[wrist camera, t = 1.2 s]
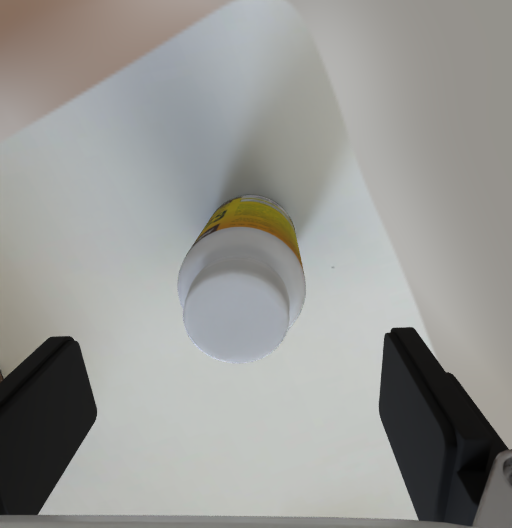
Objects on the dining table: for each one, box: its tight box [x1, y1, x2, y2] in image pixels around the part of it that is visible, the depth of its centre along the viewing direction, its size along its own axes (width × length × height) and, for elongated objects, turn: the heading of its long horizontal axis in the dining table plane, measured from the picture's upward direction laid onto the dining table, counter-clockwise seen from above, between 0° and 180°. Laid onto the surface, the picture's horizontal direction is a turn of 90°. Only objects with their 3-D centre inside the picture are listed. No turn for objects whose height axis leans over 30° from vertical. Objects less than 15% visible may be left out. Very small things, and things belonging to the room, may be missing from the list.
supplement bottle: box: [178, 195, 306, 363], centre depth 18 cm, size 6×6×10 cm
